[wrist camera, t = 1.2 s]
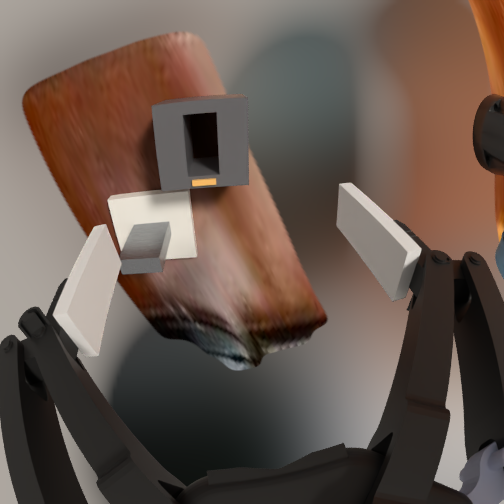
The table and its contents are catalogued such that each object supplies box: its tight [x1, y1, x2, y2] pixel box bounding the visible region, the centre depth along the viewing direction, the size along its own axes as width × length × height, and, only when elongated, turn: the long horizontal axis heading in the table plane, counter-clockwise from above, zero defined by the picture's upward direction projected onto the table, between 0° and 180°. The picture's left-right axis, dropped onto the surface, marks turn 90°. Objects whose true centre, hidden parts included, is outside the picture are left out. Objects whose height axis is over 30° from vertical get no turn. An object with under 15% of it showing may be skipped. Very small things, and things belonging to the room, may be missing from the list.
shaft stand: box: [108, 189, 197, 274], centre depth 34 cm, size 11×10×10 cm
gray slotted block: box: [152, 94, 249, 191], centre depth 28 cm, size 9×9×7 cm
